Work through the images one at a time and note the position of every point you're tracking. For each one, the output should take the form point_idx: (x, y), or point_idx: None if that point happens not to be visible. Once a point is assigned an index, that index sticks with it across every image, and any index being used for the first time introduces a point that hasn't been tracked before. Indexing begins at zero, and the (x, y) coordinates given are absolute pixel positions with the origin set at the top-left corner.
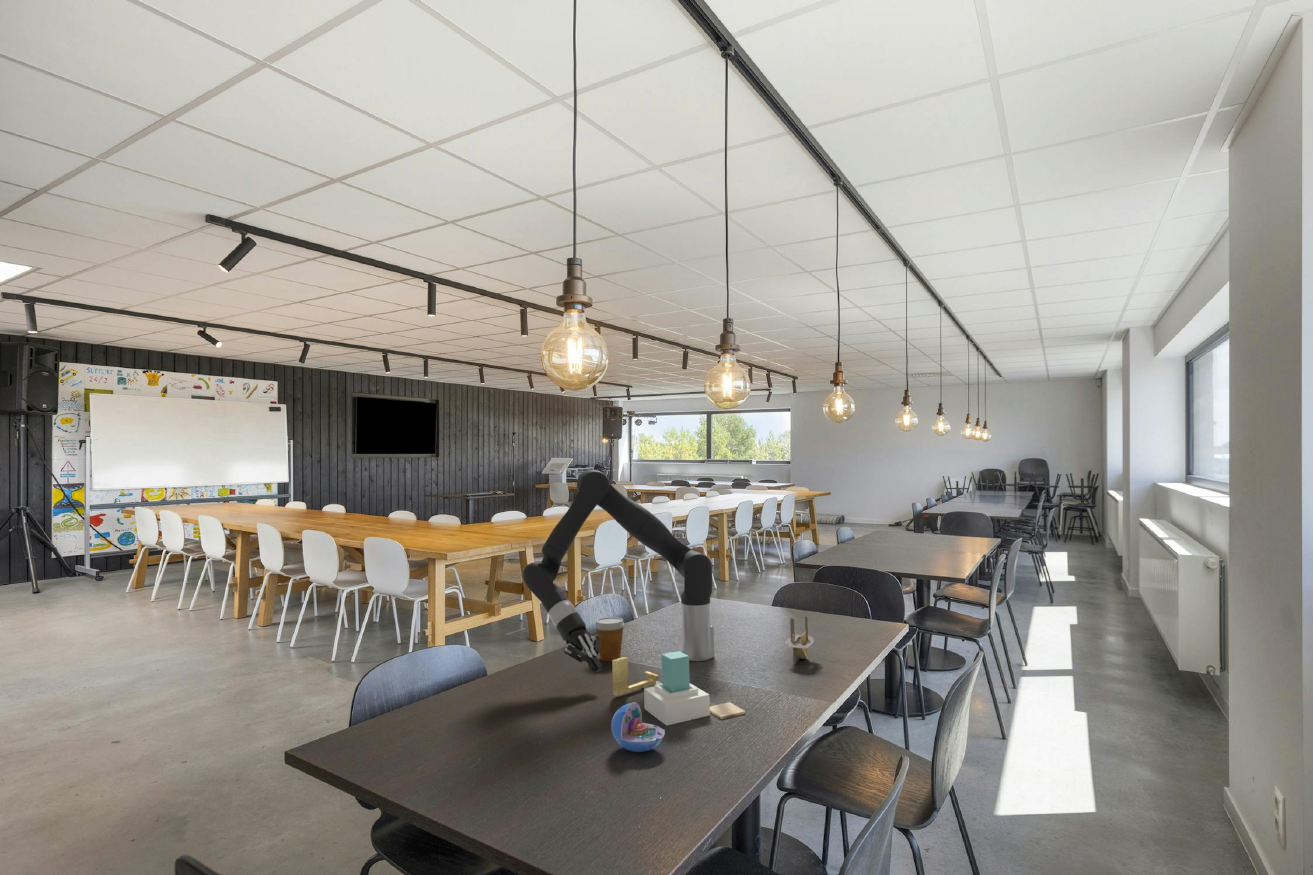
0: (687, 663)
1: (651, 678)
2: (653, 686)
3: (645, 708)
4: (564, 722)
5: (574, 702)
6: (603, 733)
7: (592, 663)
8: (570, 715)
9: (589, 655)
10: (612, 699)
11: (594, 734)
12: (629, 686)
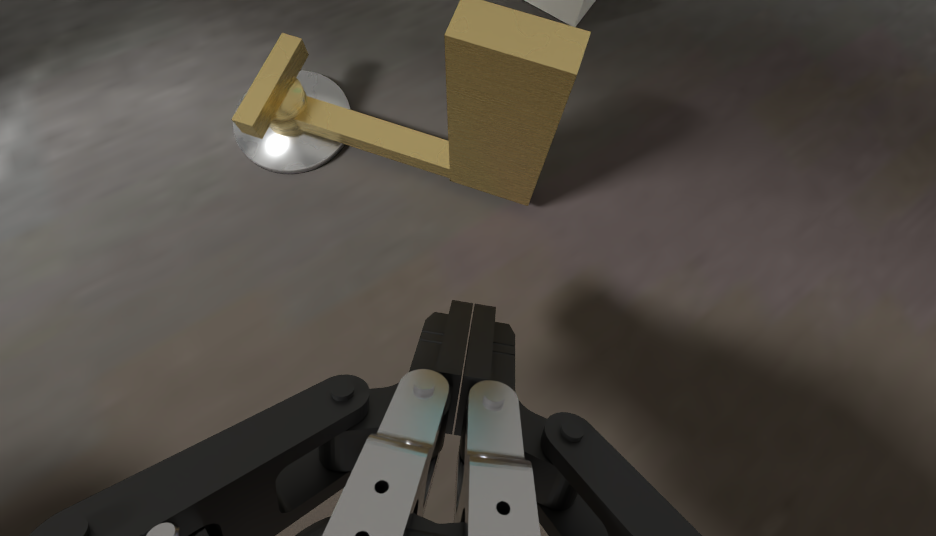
0: None
1: (297, 84)
2: (318, 98)
3: (581, 17)
4: (904, 247)
5: (689, 361)
6: (866, 49)
7: (508, 360)
8: (829, 271)
9: (506, 404)
10: (549, 202)
11: (896, 72)
12: (431, 152)
